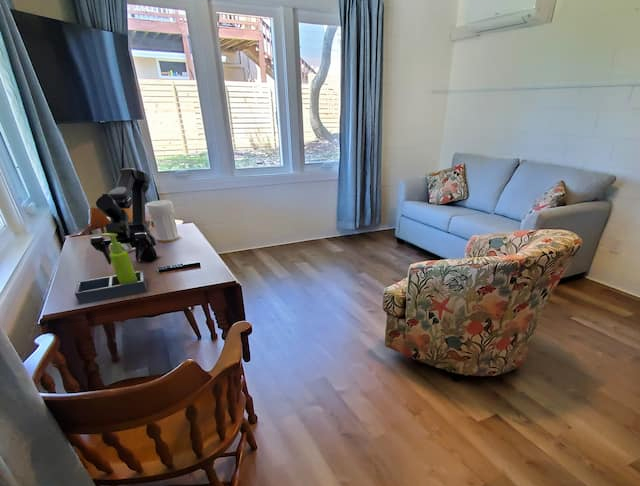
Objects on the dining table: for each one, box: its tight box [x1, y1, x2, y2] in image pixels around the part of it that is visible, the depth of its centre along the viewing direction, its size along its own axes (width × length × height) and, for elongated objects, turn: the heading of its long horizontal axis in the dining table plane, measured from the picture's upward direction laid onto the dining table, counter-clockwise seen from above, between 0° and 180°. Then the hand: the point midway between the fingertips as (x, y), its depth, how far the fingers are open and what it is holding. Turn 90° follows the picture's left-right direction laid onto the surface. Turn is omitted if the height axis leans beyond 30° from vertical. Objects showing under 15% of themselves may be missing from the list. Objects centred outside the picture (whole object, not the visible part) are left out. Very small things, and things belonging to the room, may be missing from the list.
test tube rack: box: [105, 216, 135, 253], centre depth 187 cm, size 25×4×13 cm, turn 40°
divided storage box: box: [74, 270, 148, 305], centre depth 145 cm, size 11×22×4 cm, turn 116°
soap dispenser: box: [100, 232, 138, 285], centre depth 142 cm, size 6×7×20 cm
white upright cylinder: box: [145, 199, 180, 243], centre depth 192 cm, size 11×11×17 cm
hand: (123, 262), depth 145 cm, fingers open, 9 cm apart
